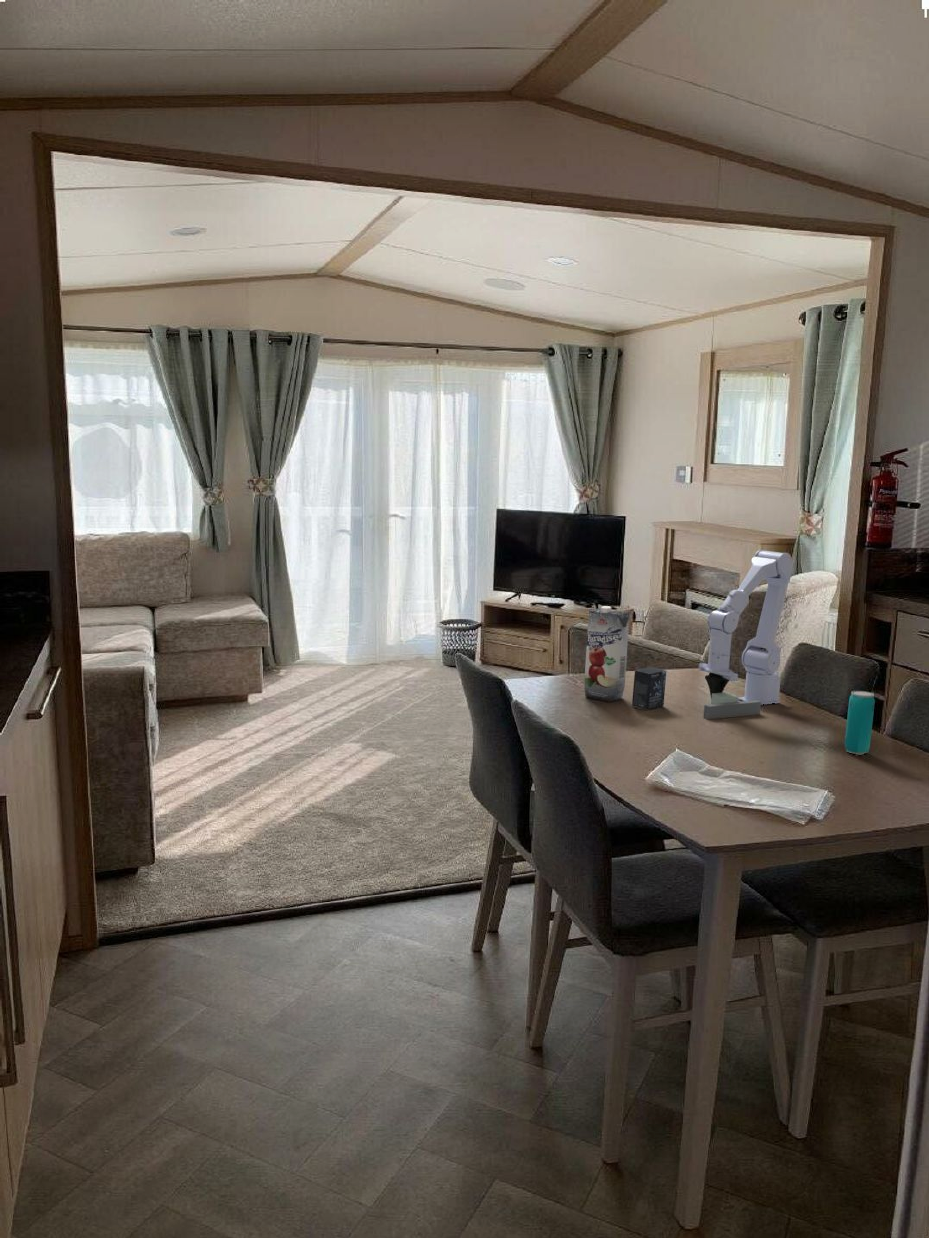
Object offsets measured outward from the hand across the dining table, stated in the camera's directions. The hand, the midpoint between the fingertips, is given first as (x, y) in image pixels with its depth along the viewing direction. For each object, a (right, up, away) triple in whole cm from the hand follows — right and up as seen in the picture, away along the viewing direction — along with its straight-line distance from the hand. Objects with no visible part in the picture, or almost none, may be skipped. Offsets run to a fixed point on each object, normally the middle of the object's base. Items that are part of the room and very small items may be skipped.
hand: (715, 700), depth 278 cm
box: (-19, -2, +1) cm, 19 cm away
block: (+1, -3, -3) cm, 4 cm away
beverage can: (+25, -10, -36) cm, 45 cm away
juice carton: (-30, 0, +8) cm, 31 cm away
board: (+3, -4, -6) cm, 8 cm away
